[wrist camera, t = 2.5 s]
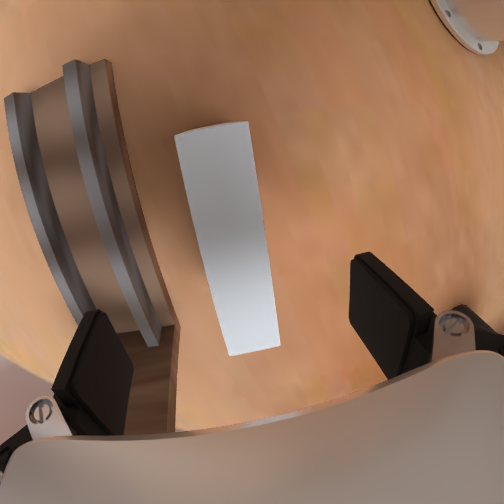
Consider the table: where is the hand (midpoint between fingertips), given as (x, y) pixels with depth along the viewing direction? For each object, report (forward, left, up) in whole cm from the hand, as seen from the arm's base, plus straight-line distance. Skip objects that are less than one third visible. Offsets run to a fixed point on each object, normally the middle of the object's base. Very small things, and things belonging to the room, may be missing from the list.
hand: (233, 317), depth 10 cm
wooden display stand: (-1, -10, -14) cm, 17 cm away
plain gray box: (0, +1, -14) cm, 14 cm away
